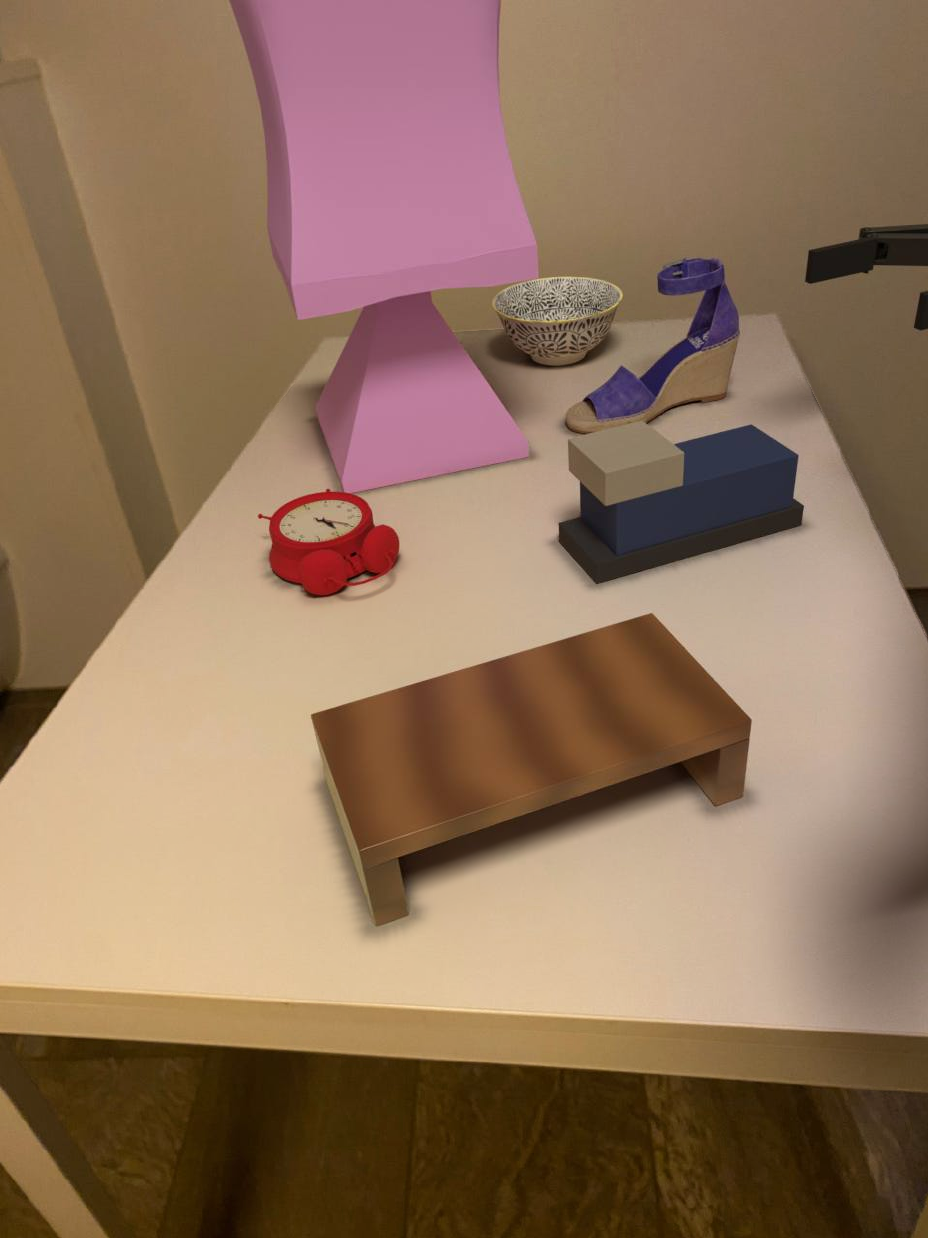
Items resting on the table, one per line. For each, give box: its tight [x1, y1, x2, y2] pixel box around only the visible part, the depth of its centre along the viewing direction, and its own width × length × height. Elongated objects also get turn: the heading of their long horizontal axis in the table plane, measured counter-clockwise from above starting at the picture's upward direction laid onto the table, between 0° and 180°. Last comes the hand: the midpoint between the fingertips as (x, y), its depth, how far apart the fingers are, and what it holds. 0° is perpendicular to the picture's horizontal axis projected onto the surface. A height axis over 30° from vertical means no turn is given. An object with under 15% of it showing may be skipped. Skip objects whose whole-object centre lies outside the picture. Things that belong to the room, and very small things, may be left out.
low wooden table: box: [310, 612, 753, 927], centre depth 60 cm, size 24×12×6 cm, turn 110°
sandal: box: [565, 257, 741, 435], centre depth 102 cm, size 8×20×15 cm, turn 100°
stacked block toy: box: [558, 421, 805, 585], centre depth 83 cm, size 20×8×10 cm, turn 110°
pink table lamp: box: [228, 0, 540, 494], centre depth 93 cm, size 22×22×45 cm
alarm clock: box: [257, 488, 400, 596], centre depth 85 cm, size 10×6×15 cm
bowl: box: [491, 276, 624, 367], centre depth 120 cm, size 16×16×8 cm
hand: (860, 287), depth 78 cm, fingers open, 13 cm apart
